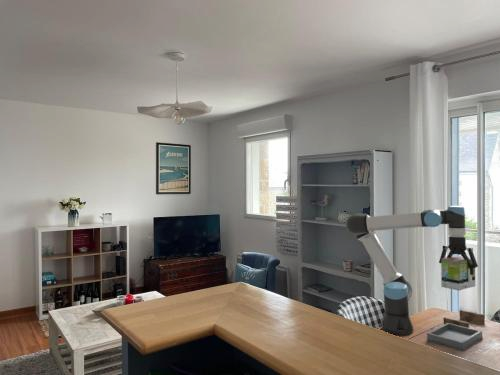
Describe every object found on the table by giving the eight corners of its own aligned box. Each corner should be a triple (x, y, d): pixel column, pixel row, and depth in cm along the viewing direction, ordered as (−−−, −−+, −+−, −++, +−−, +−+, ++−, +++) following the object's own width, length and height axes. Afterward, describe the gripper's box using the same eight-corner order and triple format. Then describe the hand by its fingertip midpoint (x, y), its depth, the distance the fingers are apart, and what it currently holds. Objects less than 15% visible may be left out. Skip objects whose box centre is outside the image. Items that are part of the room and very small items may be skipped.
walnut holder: (443, 327, 196) (443, 317, 196) (460, 318, 207) (460, 309, 208) (468, 333, 186) (467, 323, 186) (484, 324, 198) (484, 314, 198)
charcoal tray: (427, 340, 179) (426, 333, 179) (448, 329, 192) (447, 322, 192) (462, 350, 167) (462, 342, 167) (482, 338, 179) (482, 331, 180)
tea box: (460, 291, 184) (459, 261, 184) (440, 287, 193) (440, 258, 193) (476, 286, 193) (475, 257, 193) (456, 282, 201) (455, 255, 201)
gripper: (484, 237, 186) (486, 281, 186) (437, 233, 204) (438, 274, 204) (479, 238, 182) (480, 284, 181) (431, 235, 199) (432, 276, 199)
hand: (458, 279), depth 193 cm, fingers closed on tea box, 10 cm apart
